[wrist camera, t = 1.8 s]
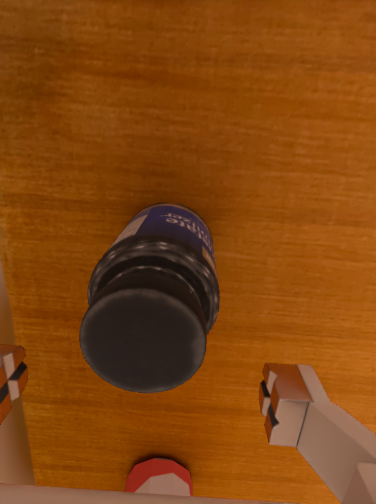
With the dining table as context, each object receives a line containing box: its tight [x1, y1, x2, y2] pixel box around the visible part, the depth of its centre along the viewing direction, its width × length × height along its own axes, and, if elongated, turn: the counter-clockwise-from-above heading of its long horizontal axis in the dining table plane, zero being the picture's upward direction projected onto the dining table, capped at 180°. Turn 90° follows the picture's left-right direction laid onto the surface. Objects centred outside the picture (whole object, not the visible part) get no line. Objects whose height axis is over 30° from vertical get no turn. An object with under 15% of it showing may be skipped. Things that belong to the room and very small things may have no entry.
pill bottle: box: [79, 203, 220, 393], centre depth 16 cm, size 6×6×11 cm
